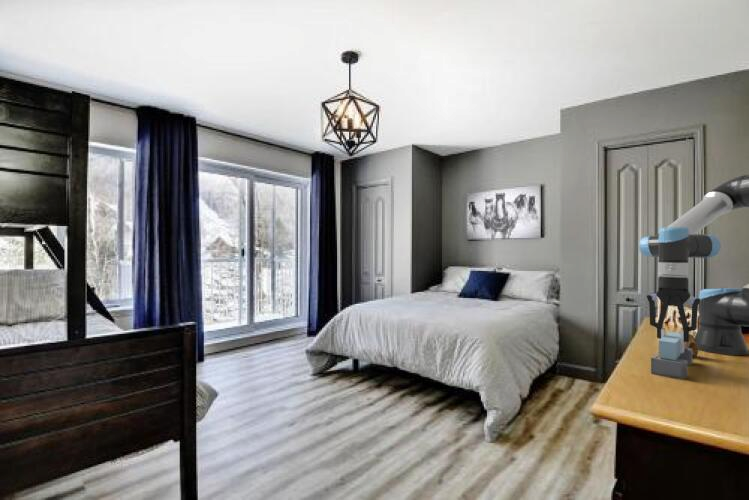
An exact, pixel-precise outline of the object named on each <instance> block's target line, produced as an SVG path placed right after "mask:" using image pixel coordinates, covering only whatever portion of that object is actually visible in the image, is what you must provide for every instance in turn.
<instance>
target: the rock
mask: <svg viewBox="0 0 749 500" xmlns="http://www.w3.org/2000/svg"><path fill="white" fill-rule="evenodd" d="M696 333H697V331H696V330H694V331H692V333H689V341H688V342H685V348H692V349H693V357H694V358H697V356H698V354H699V349H698V348H697V344H696V341H695V336H696Z"/></svg>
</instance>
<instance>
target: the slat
mask: <svg viewBox="0 0 749 500" xmlns="http://www.w3.org/2000/svg"><path fill="white" fill-rule="evenodd" d="M684 350H685V342H684ZM680 354H681V353H680V332H673V331H670V332H668V333H666V334H665V336H664V337H663V338H661V339H659V340H658V359H660V358H665V359H672V360H676V359H677V358H678V357H679V356H680Z"/></svg>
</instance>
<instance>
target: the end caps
mask: <svg viewBox="0 0 749 500" xmlns="http://www.w3.org/2000/svg"><path fill="white" fill-rule="evenodd" d="M693 357H694V356H693V349H692V348H685V350H684V353H681V354H680V356H679V357H678V358H677V359H676V360H672V359H665V358H659V355H655V354H653V355H652V356H651V358H650V369H651V370H650V374H652V375H656V376H662V377H668V378H673V379H680V380H684V381H686V380H687V378H688V366H690V367H692V365H693V361H694V359H693Z"/></svg>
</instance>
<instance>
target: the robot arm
mask: <svg viewBox="0 0 749 500" xmlns="http://www.w3.org/2000/svg"><path fill="white" fill-rule="evenodd" d="M741 208H742V209H743V208H749V174H744V175H739V176H736V177H734V178H730V179H728V180H727V181H725V182H723V183H721V184H719V185H718V186H716V187H714V188H713V189H712V190H710V191H708V192H707V193H706V194H705V195H704V196H703V197H702V200H701V201H700V202H699V203H698V204H696V205H695V206H693V207H692V208H690V209H689V210H688V211H687V212H685V213H684V214H682V215H681V216H680V217H678V218H677V219H675V220H674V221H673V222H671V223H670V224H669V225H668V226H666V227H662V228H660V229H659V231H658V233H656V235H649V236H644V237H643V238H641V239H640V241H639V243H638V250H639V252H640V253H641V254H642V255H643V256H644V257H649V258H658V263H657V265H658V267H657V269H658V271H657V274H658V275H659V276H658V277H657V290H656V292H655V293H652V294H648V295H646V298H647V301H648V306H649V307H648V308H649V325H650V326H651V327H655V328H656V338H657V339H659V340H660V339H661V338H663V337H664V336H665V335H666V328H664V327H663V325H664V323H665V318H666V315H667V311H668V308H669V307H671V306H673V307H676V308H677V310H678V314H679V318H680V323H681V326H682V330H680V331H679V333H680V353H684V342H688V341H689V334H690V332H693V331H696V330H697V331H696V333H695V336H694V338H695V341H696V344H697V348H698V351H699V350H700V351H704V352H708V353H714V354H721V355H727V356H728V355H729V356H731V355H733V356H745V355H746V356H747V355H748V354H749V349H748V345H747V342H746V340H745V338H744V336H743V333H742V326H743V327H749V283H748V284H746V285H744V286H743V287H742V289H741V288H740V287H734V288H733V287H732V288H731V287H727V288H704V289H701V290H700V291H699V295H698V297H695V296H692V295H691V293H690V291H689V277H687V276H689V272H690V271H689V267H690V266H689V265H690V263H689V259H690V258H692V259H693V258H696V259H698V258H699V259H707V258H713V257H716V256H717V255H718V254H719V253H720V252H721V247H722V245H721V241H720V239H719V238H717V237H716V236H714V235H712V234H707V233H704V234H703V233H702V234H701V233H700V234H699V232H700V231H701V230H702V229H704V228H705V227H707V226H709V224H711V223H712V222H713V221H714V220H716V219H718V217H720V216H722V215H723V216H724V215H726V214H729V213H730V212H731V211H733V210H737V209H741ZM657 298H658V299H659V300H660V302H662V304H661V305H662V306H661V309H660V313H659V316H658V321H657V319H656V302H655V301H657ZM688 300H690V304H692V306H691V316H690V317H691V321H690V326H689V324H688V319H687V316H686V311H685V307H684V304H685V303H686V302H687V301H688ZM656 321H657V322H656ZM697 326H698V327H697ZM697 328H698V329H697Z"/></svg>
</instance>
